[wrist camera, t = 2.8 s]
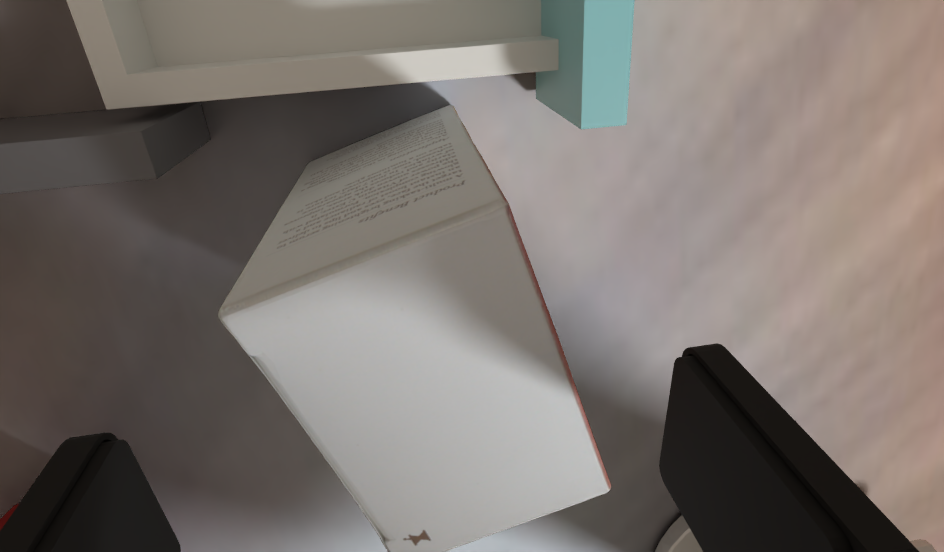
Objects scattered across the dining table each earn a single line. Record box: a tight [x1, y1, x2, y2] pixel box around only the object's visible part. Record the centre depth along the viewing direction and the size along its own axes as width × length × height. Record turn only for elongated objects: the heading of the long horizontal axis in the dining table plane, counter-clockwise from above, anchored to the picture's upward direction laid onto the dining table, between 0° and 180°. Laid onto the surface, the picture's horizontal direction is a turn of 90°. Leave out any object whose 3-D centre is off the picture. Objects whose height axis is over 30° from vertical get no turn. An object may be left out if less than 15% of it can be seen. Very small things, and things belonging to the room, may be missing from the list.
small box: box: [218, 105, 611, 552], centre depth 15 cm, size 8×6×10 cm
